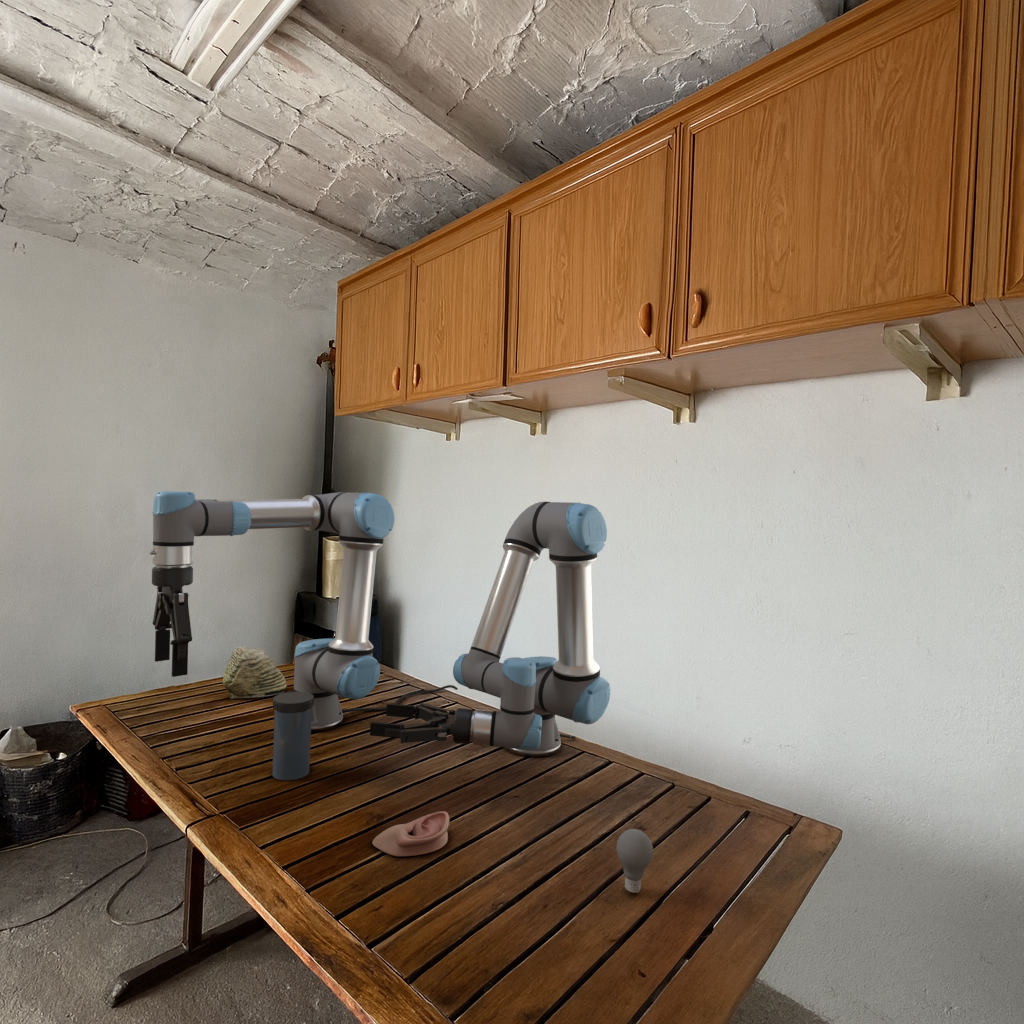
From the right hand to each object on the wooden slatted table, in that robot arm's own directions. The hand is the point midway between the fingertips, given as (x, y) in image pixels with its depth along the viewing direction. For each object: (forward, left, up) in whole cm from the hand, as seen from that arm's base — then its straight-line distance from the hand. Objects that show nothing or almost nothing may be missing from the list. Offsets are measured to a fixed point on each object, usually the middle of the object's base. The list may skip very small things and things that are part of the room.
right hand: (378, 718), depth 143 cm
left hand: (+43, -5, +13) cm, 45 cm away
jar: (+18, -9, -14) cm, 24 cm away
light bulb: (-33, +53, -14) cm, 65 cm away
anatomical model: (-2, +28, -14) cm, 31 cm away
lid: (+18, -9, +3) cm, 20 cm away
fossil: (+26, -70, -14) cm, 76 cm away
